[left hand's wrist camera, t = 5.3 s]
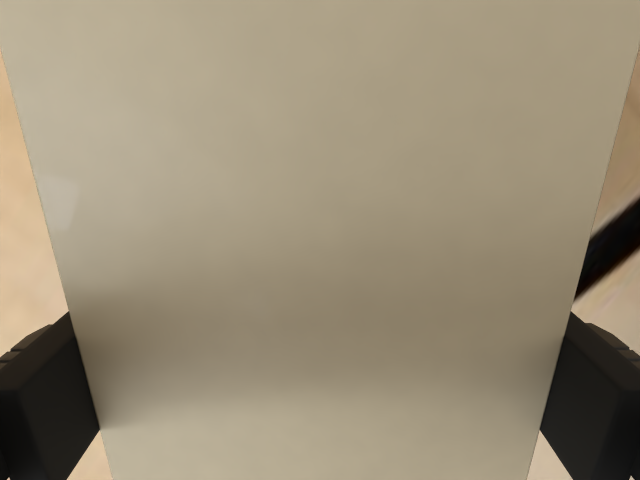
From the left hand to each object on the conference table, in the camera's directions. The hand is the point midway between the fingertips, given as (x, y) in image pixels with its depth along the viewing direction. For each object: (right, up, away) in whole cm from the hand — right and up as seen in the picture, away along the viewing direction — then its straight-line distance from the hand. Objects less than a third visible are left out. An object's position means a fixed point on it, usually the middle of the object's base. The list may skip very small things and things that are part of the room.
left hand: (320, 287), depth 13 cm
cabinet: (0, +7, +4) cm, 8 cm away
